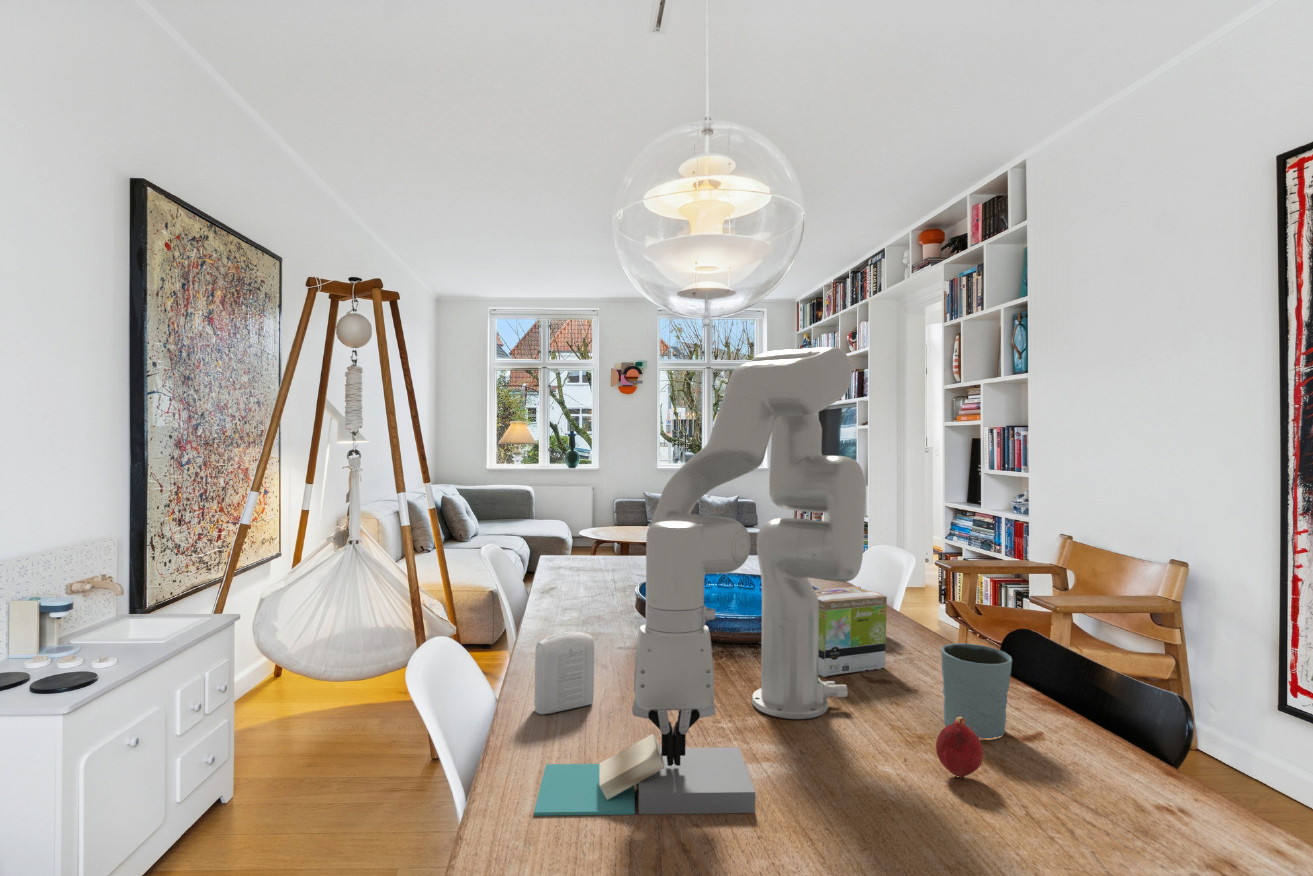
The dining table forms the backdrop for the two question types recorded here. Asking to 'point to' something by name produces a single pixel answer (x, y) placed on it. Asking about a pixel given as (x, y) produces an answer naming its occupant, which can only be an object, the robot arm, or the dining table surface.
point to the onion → (959, 748)
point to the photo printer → (564, 672)
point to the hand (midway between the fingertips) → (673, 760)
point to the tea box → (851, 630)
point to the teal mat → (579, 793)
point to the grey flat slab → (699, 784)
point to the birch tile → (630, 766)
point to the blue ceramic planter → (976, 687)
